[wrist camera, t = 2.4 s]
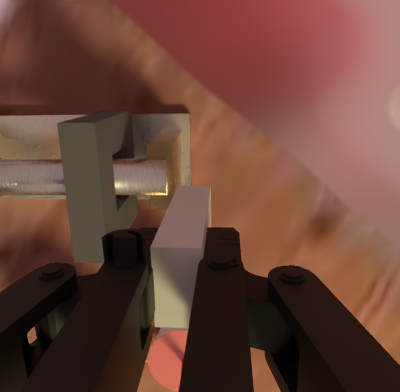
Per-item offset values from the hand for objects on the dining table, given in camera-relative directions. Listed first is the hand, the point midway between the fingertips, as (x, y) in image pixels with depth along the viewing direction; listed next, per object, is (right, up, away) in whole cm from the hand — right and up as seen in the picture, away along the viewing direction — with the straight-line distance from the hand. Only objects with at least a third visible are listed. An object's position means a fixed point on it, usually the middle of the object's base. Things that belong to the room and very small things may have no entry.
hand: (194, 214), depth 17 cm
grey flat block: (-6, +3, +11) cm, 13 cm away
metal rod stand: (-10, +4, +15) cm, 18 cm away
